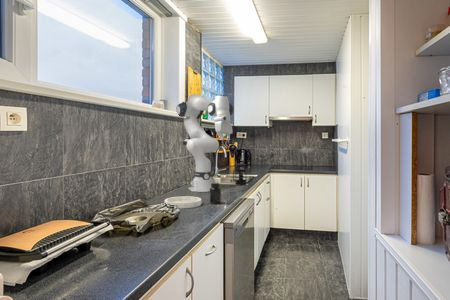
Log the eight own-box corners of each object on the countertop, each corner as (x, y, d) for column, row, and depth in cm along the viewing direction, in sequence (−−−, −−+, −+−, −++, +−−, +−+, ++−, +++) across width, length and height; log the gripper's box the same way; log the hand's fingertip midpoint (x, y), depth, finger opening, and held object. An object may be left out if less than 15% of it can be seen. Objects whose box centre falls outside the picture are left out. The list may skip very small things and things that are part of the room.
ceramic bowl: (160, 203, 197) (160, 198, 197) (193, 199, 207) (193, 195, 207) (171, 209, 179) (171, 204, 179) (206, 206, 188) (206, 200, 188)
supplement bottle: (207, 202, 197) (207, 183, 197) (216, 201, 202) (216, 182, 201) (213, 204, 192) (213, 184, 191) (223, 203, 196) (223, 183, 196)
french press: (248, 183, 278) (248, 156, 277) (246, 185, 269) (246, 157, 268) (234, 183, 281) (234, 156, 280) (232, 184, 271) (232, 157, 270)
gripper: (225, 121, 225) (227, 141, 225) (212, 118, 206) (214, 140, 206) (233, 119, 223) (235, 140, 222) (221, 117, 204) (223, 139, 203)
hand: (225, 140), depth 214 cm, fingers open, 8 cm apart
